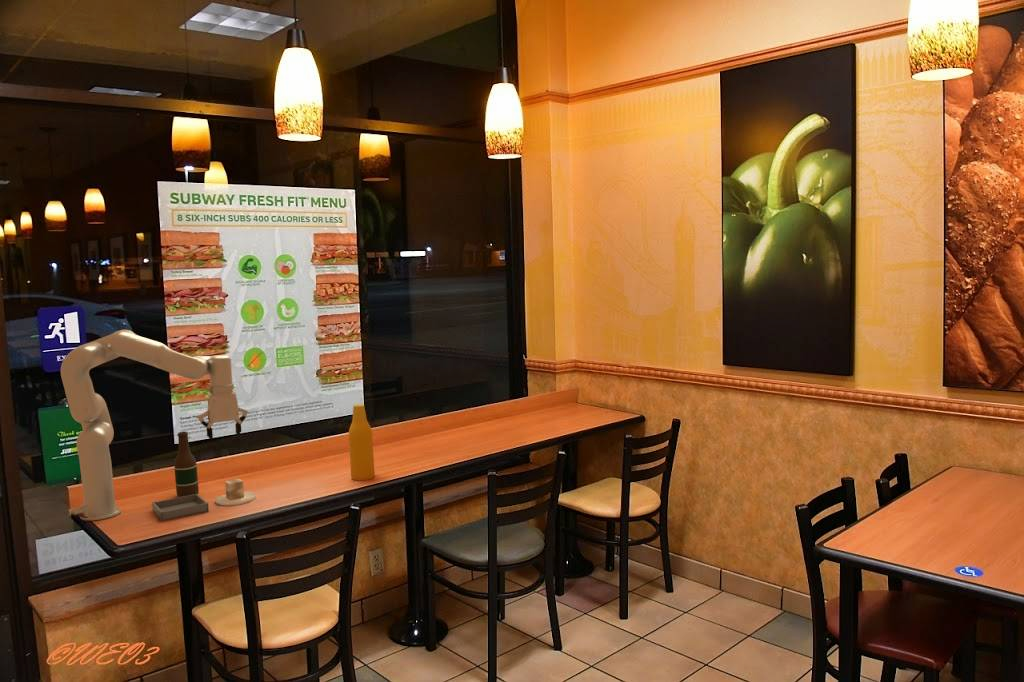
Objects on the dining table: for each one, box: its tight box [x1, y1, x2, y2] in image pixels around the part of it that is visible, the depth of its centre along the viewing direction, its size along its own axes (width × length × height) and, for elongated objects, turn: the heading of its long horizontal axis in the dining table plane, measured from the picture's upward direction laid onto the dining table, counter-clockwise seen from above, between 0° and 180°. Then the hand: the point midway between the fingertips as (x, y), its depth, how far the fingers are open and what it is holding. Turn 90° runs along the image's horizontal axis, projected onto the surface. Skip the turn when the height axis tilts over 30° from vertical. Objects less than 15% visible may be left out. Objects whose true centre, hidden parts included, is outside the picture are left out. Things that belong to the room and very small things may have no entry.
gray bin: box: [151, 493, 209, 522], centre depth 270 cm, size 15×15×3 cm
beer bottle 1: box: [173, 431, 200, 498], centre depth 290 cm, size 8×8×24 cm
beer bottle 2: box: [348, 404, 376, 482], centre depth 304 cm, size 9×9×29 cm
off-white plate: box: [214, 491, 257, 507], centre depth 281 cm, size 14×14×1 cm
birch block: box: [224, 478, 245, 500], centre depth 281 cm, size 5×5×6 cm
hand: (224, 436), depth 280 cm, fingers open, 9 cm apart
